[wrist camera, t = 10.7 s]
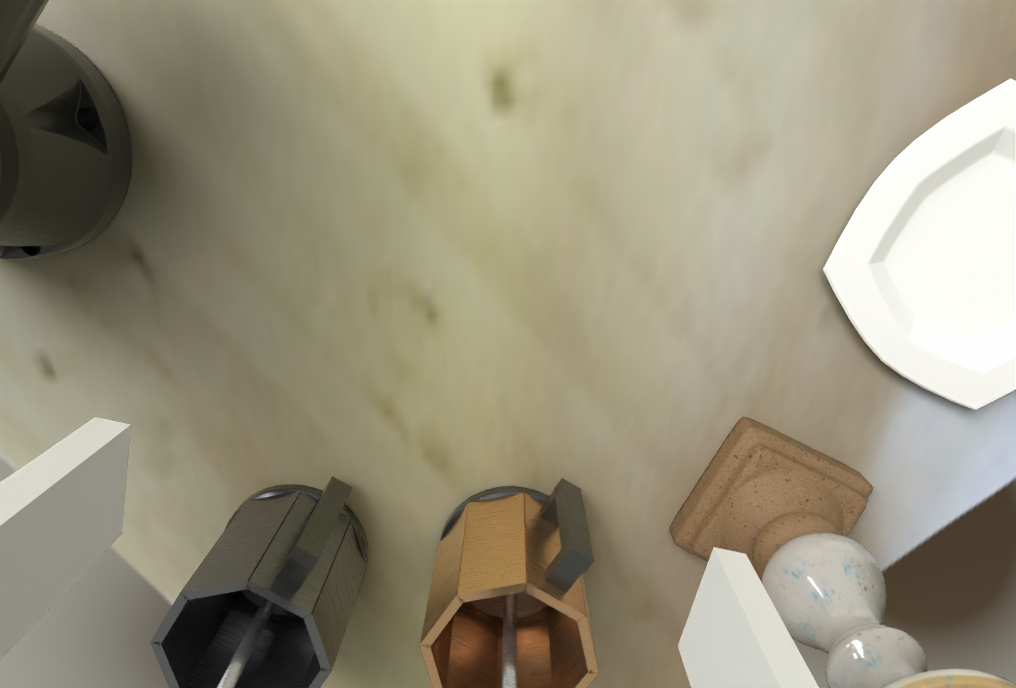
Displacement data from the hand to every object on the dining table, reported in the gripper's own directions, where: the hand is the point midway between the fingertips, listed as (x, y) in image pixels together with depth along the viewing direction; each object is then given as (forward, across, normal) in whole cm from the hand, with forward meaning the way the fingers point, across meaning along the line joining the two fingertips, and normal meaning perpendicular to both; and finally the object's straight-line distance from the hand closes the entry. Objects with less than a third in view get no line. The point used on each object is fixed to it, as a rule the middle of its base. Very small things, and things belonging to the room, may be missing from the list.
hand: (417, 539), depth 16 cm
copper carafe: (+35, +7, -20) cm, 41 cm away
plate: (+35, +33, +8) cm, 49 cm away
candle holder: (+35, +25, -13) cm, 45 cm away
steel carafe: (+35, -9, -24) cm, 43 cm away
